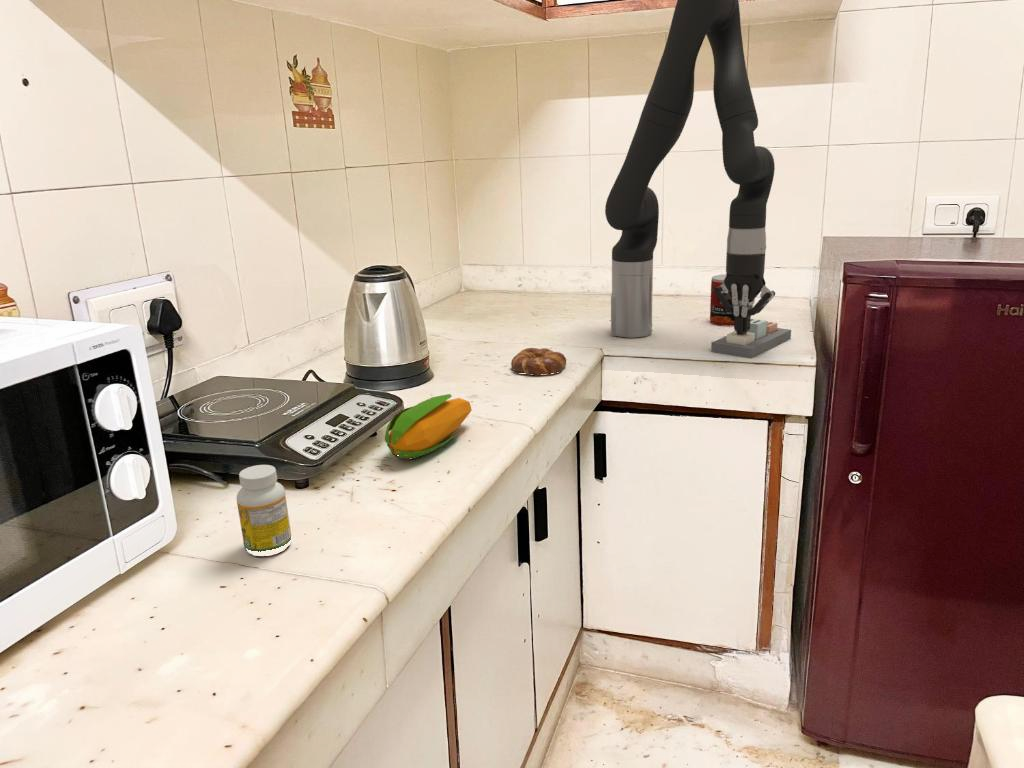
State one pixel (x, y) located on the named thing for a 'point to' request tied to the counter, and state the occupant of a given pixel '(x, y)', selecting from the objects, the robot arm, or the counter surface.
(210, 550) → the counter surface
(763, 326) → the teal tile
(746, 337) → the cream tile
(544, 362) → the brown bread ring
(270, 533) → the supplement bottle
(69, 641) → the counter surface
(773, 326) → the slotted peach tile
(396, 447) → the corn
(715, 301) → the canned food
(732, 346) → the frame
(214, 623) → the counter surface
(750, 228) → the robot arm
